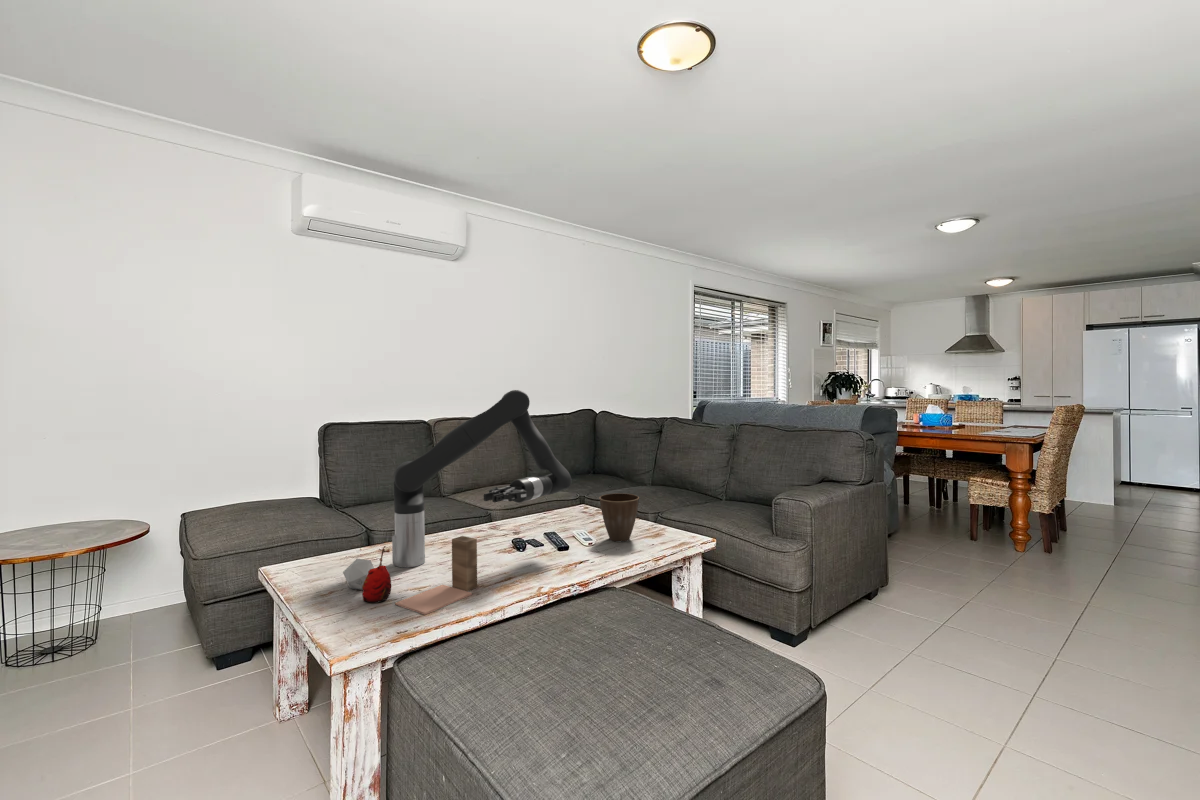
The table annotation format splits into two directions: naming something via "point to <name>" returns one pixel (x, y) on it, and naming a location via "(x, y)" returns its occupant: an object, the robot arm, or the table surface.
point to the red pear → (377, 583)
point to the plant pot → (619, 514)
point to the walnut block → (464, 563)
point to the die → (357, 573)
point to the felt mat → (433, 599)
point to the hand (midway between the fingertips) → (489, 498)
